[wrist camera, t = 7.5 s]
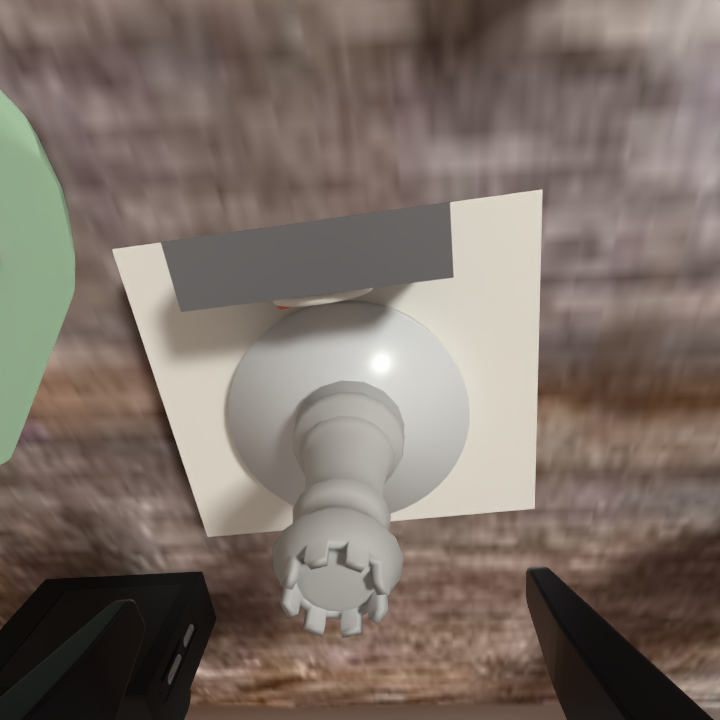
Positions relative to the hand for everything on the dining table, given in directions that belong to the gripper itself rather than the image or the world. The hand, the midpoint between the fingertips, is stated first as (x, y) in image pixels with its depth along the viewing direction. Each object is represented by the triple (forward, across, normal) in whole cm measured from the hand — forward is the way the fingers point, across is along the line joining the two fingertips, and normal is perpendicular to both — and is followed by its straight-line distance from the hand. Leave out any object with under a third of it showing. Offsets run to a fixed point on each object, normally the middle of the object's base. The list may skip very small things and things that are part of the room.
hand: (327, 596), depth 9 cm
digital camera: (+12, +16, +14) cm, 25 cm away
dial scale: (+12, 0, -1) cm, 12 cm away
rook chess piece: (+8, 0, 0) cm, 8 cm away
